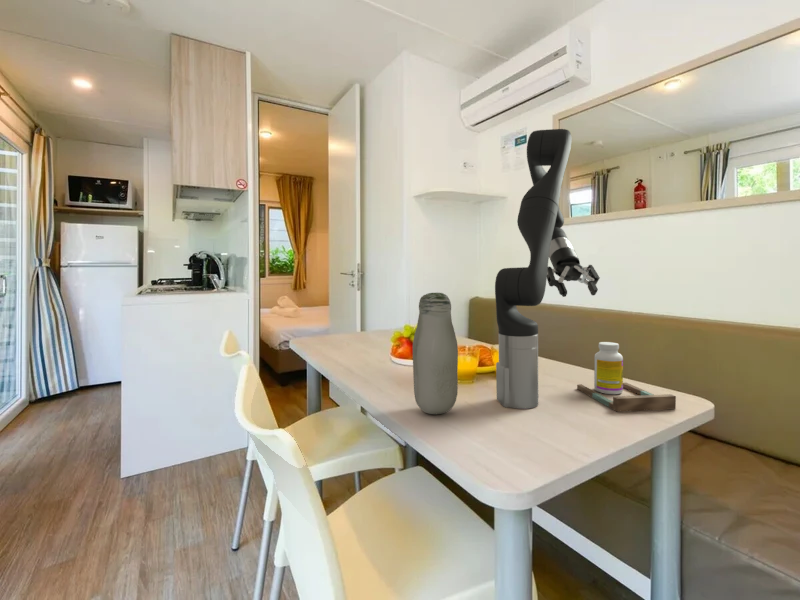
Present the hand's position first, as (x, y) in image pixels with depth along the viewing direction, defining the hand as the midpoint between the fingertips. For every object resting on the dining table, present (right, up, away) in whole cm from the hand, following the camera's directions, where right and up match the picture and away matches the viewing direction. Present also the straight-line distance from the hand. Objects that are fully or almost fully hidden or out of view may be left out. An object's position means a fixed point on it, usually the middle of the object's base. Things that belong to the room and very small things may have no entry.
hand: (580, 294), depth 109 cm
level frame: (+4, -26, -14) cm, 30 cm away
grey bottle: (-43, -28, -20) cm, 55 cm away
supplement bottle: (+4, -26, -8) cm, 28 cm away
